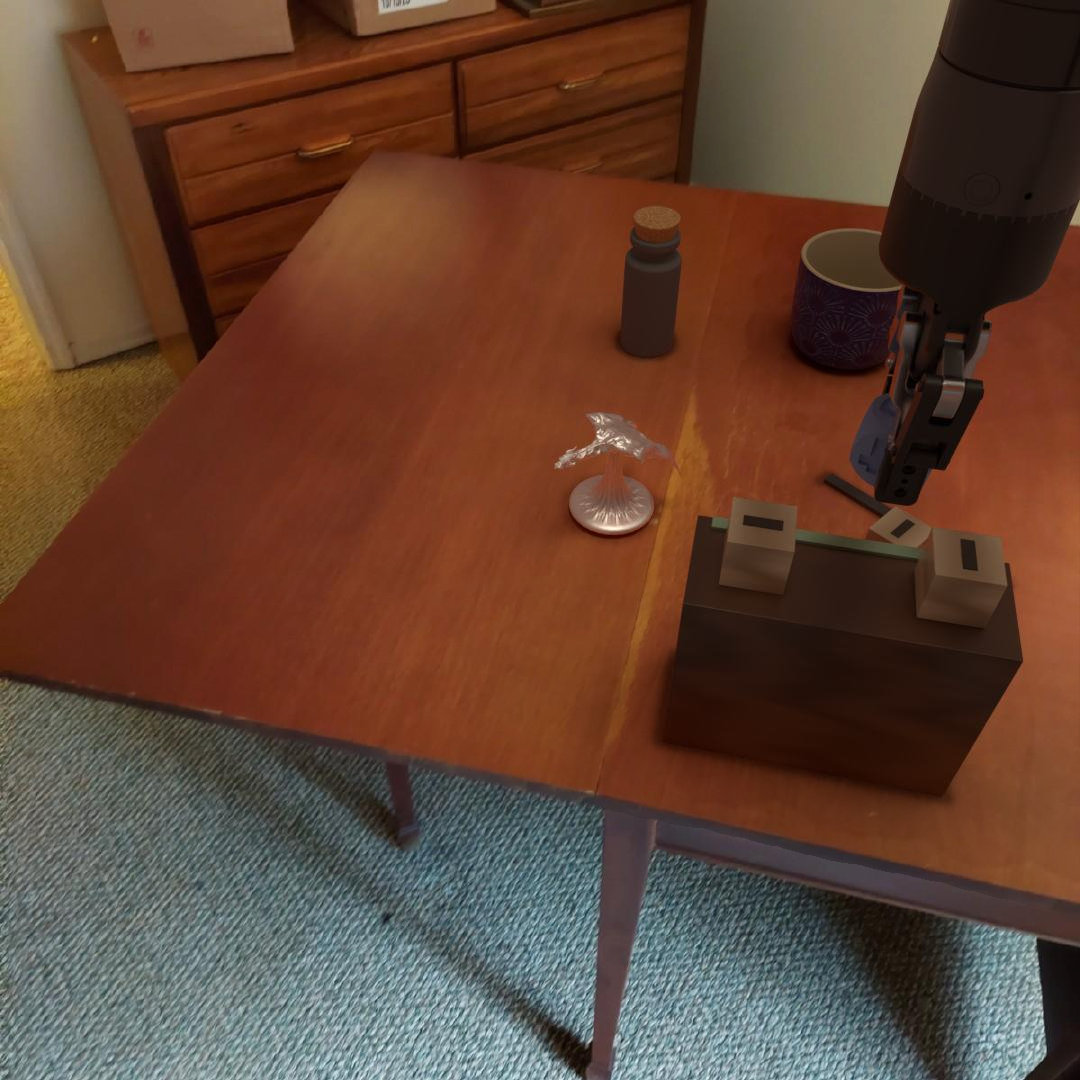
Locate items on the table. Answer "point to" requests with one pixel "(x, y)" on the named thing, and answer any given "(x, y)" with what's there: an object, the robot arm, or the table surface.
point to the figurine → (613, 477)
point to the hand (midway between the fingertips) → (892, 464)
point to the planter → (843, 300)
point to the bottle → (651, 283)
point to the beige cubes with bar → (885, 518)
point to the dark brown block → (841, 648)
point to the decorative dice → (873, 439)
